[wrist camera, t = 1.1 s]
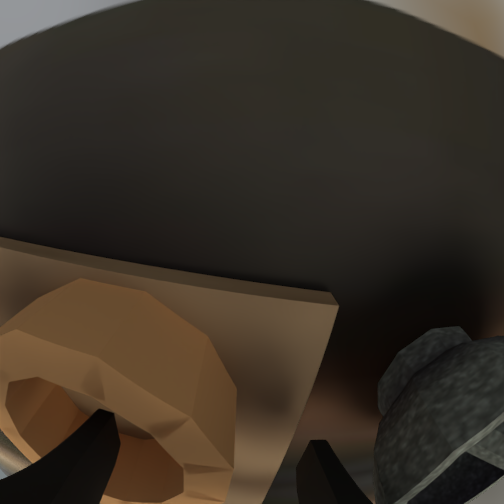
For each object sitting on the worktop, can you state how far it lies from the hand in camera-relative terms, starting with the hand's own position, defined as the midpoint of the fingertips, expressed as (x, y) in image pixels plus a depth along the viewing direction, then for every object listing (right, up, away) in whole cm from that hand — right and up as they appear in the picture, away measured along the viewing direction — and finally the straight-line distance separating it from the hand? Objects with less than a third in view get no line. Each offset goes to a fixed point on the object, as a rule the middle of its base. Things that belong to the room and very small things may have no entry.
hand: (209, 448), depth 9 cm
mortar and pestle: (+11, +1, +4) cm, 12 cm away
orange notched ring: (-4, +1, +2) cm, 5 cm away
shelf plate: (-5, -4, +5) cm, 8 cm away
